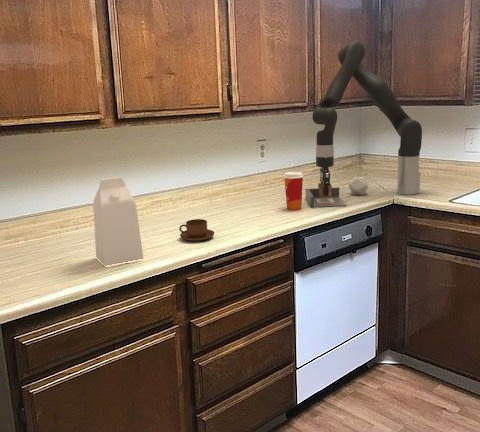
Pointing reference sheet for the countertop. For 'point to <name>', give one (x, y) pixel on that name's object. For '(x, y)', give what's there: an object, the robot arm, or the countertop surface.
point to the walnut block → (320, 190)
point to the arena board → (323, 198)
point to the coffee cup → (293, 190)
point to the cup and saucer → (196, 230)
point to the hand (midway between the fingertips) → (324, 193)
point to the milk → (116, 223)
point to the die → (358, 186)
